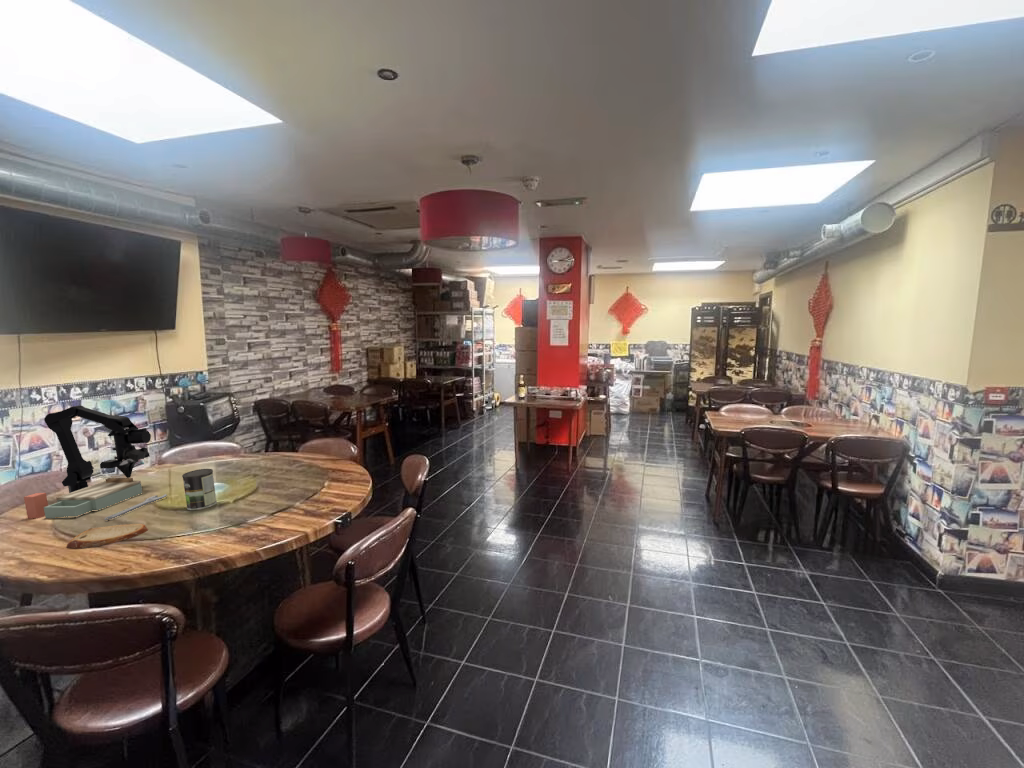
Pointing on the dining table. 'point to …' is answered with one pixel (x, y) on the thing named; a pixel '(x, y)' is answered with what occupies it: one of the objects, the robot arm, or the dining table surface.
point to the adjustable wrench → (136, 506)
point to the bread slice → (106, 535)
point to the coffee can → (199, 489)
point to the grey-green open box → (89, 503)
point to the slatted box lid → (100, 489)
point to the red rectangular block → (36, 505)
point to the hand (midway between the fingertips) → (128, 477)
